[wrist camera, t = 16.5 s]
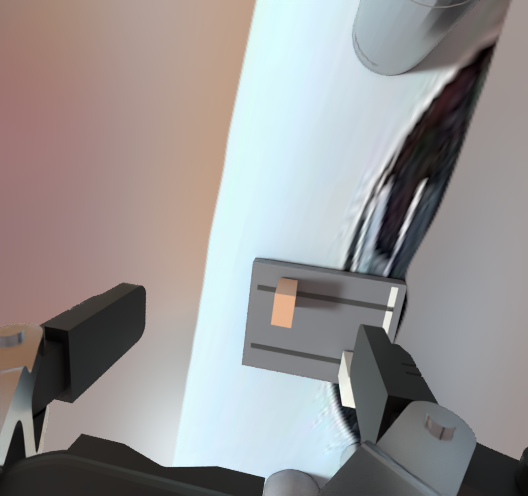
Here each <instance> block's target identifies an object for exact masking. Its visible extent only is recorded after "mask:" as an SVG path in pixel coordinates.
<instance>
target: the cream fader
mask: <svg viewBox="0 0 528 496" xmlns="http://www.w3.org/2000/svg"><path fill="white" fill-rule="evenodd" d="M352 356H353V353H352V352H347V351H343V354H342V359H341V364H340V369H339V374H338V379H339V386H340V393H341V400H342V405H343V406H348V407H352V408H355V403H354V398H353V393H352V388H351V383H350V367H351V361H352Z"/></svg>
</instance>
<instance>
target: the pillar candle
mask: <svg viewBox="0 0 528 496" xmlns="http://www.w3.org/2000/svg"><path fill="white" fill-rule="evenodd" d="M319 492H320V488H319V486H318V484H317V483H316V482H315V481H314V479H312V478H311V477H310V476H309V475H307V474H305V473H303V472H300V471H298V470H292V469H287V470H283V471H280V472H277V473H275V474H273V475H271V476H270V477H269V478H268V479H267V481H266V484H265V487H264V494H263V496H316V495H317V494H318V493H319Z"/></svg>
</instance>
